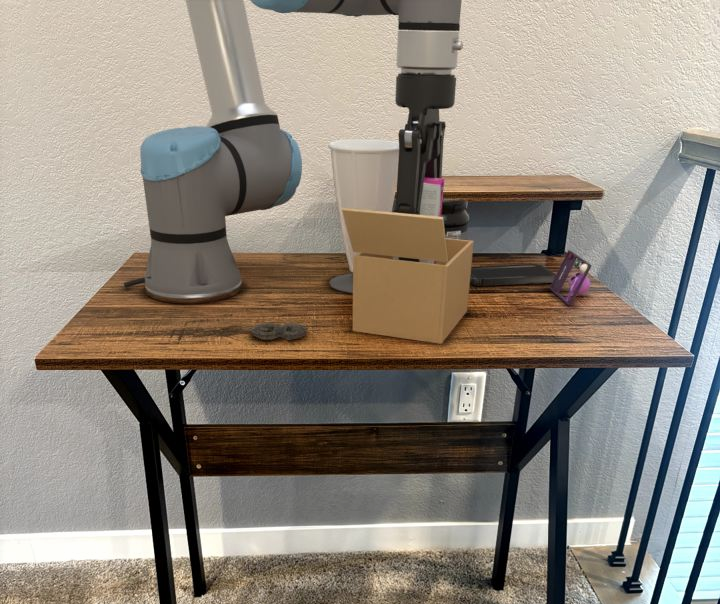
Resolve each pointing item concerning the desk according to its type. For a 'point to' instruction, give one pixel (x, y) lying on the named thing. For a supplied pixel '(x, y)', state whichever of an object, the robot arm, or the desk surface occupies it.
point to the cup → (362, 186)
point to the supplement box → (431, 202)
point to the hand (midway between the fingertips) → (415, 258)
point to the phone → (510, 275)
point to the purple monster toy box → (577, 282)
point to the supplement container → (455, 218)
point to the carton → (411, 294)
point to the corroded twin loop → (278, 331)
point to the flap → (396, 234)
